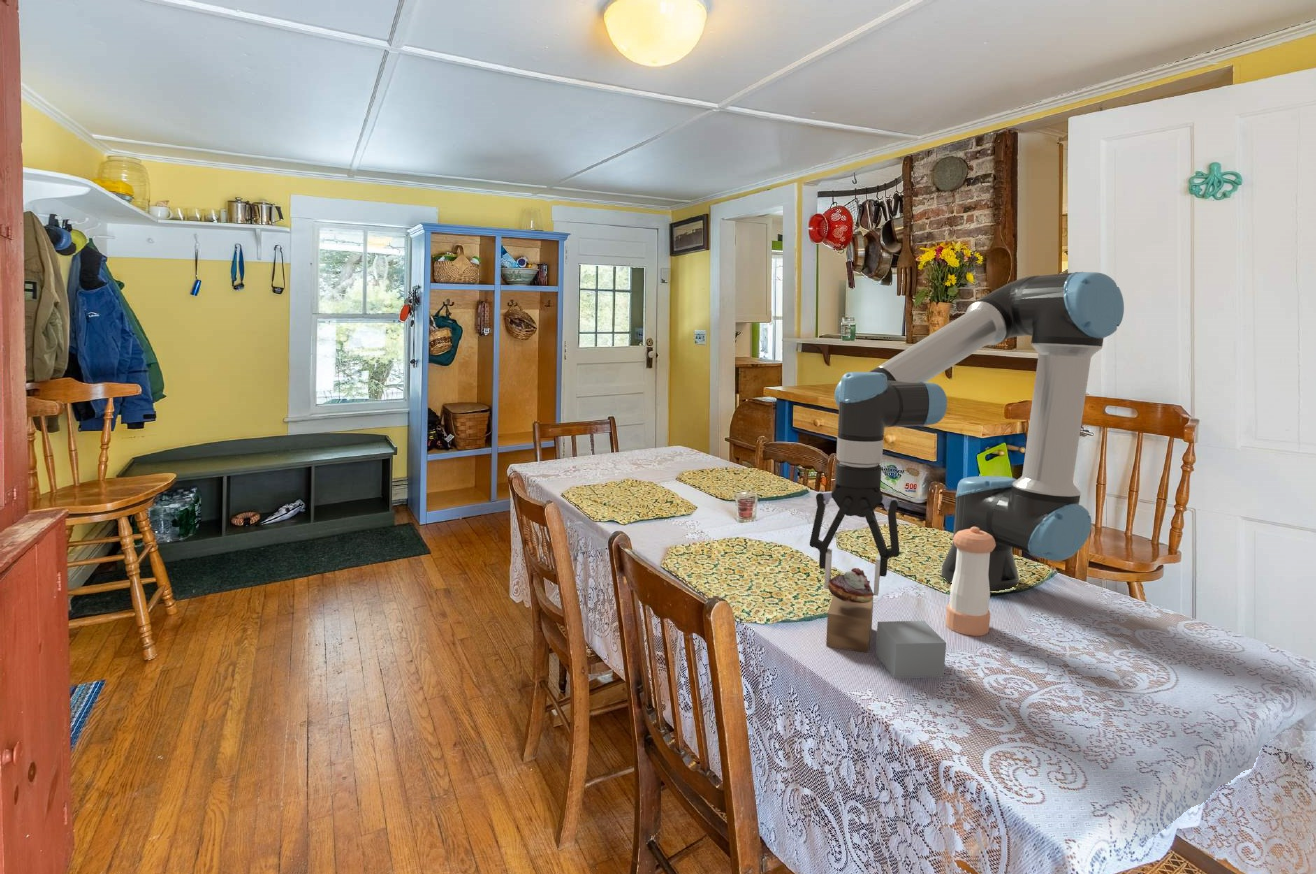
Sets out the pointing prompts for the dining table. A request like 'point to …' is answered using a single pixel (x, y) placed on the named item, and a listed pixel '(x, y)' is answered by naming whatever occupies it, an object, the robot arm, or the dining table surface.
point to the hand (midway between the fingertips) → (851, 589)
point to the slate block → (910, 649)
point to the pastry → (851, 587)
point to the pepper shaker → (970, 583)
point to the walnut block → (849, 625)
